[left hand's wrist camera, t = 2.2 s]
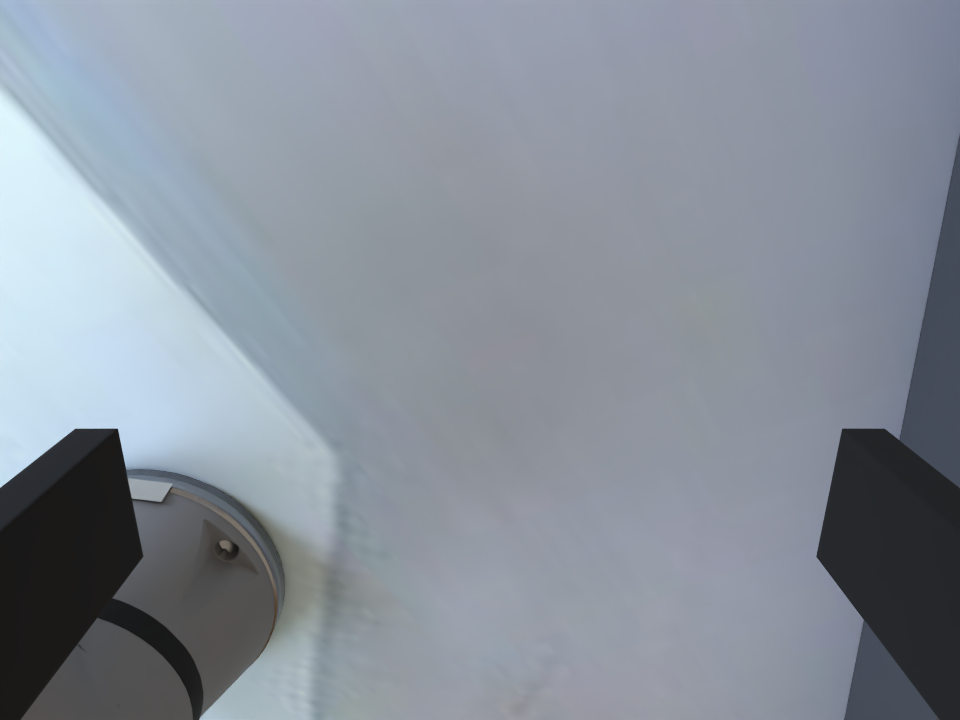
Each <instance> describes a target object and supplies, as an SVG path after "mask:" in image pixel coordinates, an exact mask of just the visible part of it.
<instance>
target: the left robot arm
mask: <svg viewBox="0 0 960 720" xmlns="http://www.w3.org/2000/svg"><path fill="white" fill-rule="evenodd" d="M816 557H817V558H818V559H819V561H820V562H821V563H822V565H823V566H824V567H825V569H826V570H827V571H828V573H829V574H830V575H831V577H832V578H833V579H834V581H835V582H836V583H837V585H838V586H839V587H840V589H841V590H842V591H843V593H844V594H845V595H846V597H847V598H848V599H849V600H850V602H851V603H852V604H853V606H854V607H855V608H856V610H857V611H858V612H859V614H860V615H861V616H862V618H863V619H864V620H865V622H866V623H867V624H868V626H869V627H870V628H871V630H872V631H873V632H874V634H875V635H876V636H877V638H878V639H879V640H880V642H881V643H882V644H883V646H884V647H885V648H886V650H887V651H888V652H889V654H890V655H891V656H892V658H893V659H894V660H895V662H896V663H897V664H898V666H899V667H900V668H901V670H902V671H903V672H904V673H905V675H906V676H907V677H908V679H909V680H910V681H911V683H912V684H913V685H914V687H915V688H916V689H917V691H918V692H919V693H920V695H921V696H922V697H923V699H924V700H925V701H926V703H927V704H928V705H929V707H930V708H931V709H932V711H933V712H934V713H935V715H936V716H937V717H938V719H939V720H960V488H959V487H958V486H956V485H955V484H954V483H953V482H951V481H950V480H949V479H948V478H946V477H945V476H944V475H943V474H941V473H940V472H939V471H937V470H936V469H935V468H934V467H932V466H931V465H930V464H929V463H927V462H926V461H925V460H923V459H922V458H921V457H920V456H918V455H917V454H916V453H915V452H913V451H912V450H911V449H910V448H908V447H907V446H906V445H904V444H903V443H902V442H901V441H899V440H898V439H897V438H896V437H894V436H893V435H892V434H891V433H889V432H888V431H887V430H885V429H842V433H841V438H840V443H839V447H838V452H837V457H836V462H835V467H834V472H833V477H832V482H831V487H830V492H829V497H828V502H827V507H826V512H825V517H824V522H823V527H822V532H821V537H820V542H819V546H818V551H817V556H816ZM284 586H285V585H284V574H283V570H282V565H281V562H280V559H279V556H278V553H277V551H276V549H275V547H274V545H273V543H272V541H271V539H270V538H269V536H268V534H267V533H266V532H265V530H264V529H263V527H262V526H261V525H260V524H259V523H258V521H257V520H256V519H255V518H254V517H253V516H252V515H251V514H250V513H249V512H248V511H247V510H246V509H245V508H244V507H242V506H241V505H240V504H239V503H237V502H236V501H235V500H233V499H232V498H231V497H229V496H228V495H226V494H225V493H223V492H221V491H219V490H218V489H216V488H214V487H212V486H210V485H208V484H206V483H203V482H201V481H198V480H196V479H193V478H190V477H187V476H184V475H180V474H176V473H171V472H166V471H159V470H146V469H135V470H126V467H125V462H124V457H123V452H122V447H121V443H120V438H119V433H118V429H75V430H73V431H72V432H71V433H70V434H68V435H67V436H66V437H64V438H63V439H62V440H61V441H59V442H58V443H57V444H56V445H54V446H53V447H52V448H50V449H49V450H48V451H47V452H45V453H44V454H43V455H42V456H40V457H39V458H38V459H37V460H35V461H34V462H33V463H31V464H30V465H29V466H28V467H26V468H25V469H24V470H23V471H21V472H20V473H19V474H17V475H16V476H15V477H14V478H12V479H11V480H10V481H9V482H7V483H6V484H5V485H4V486H2V487H1V488H0V720H199V719H200V717H201V716H202V715H203V714H204V713H205V712H206V711H207V710H208V709H209V707H210V706H211V705H212V704H213V703H214V702H215V701H216V700H217V699H218V698H219V697H220V696H221V695H222V694H223V693H224V692H225V691H226V690H227V689H228V688H229V687H230V686H231V685H232V684H233V683H234V682H235V681H236V680H237V679H238V678H239V677H240V676H241V674H242V673H243V672H244V671H245V670H246V669H247V668H248V667H249V666H250V665H251V664H252V663H253V662H254V661H255V660H256V659H257V658H258V657H259V656H260V654H261V653H262V652H263V650H264V649H265V647H266V645H267V643H268V642H269V639H270V637H271V635H272V632H273V630H274V627H275V625H276V622H277V620H278V617H279V615H280V612H281V609H282V605H283V599H284Z"/></svg>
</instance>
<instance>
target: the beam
mask: <svg viewBox="0 0 960 720" xmlns="http://www.w3.org/2000/svg"><path fill="white" fill-rule="evenodd" d="M900 441H901V442H902V443H903V444H904V445H906V446H907V447H908V448H910V449H911V450H912V451H913V452H915V453H916V454H917V455H918V456H920V457H921V458H922V459H923V460H925V461H926V462H927V463H929V464H930V465H931V466H932V467H934V468H935V469H936V470H937V471H939V472H940V473H941V474H943V475H944V476H945V477H946V478H948V479H949V480H950V481H951V482H953V483H954V484H955V485H956V486H958V487H959V488H960V137H959V142H958V147H957V152H956V157H955V162H954V167H953V173H952V178H951V183H950V188H949V193H948V198H947V203H946V208H945V213H944V218H943V223H942V228H941V233H940V238H939V244H938V249H937V254H936V259H935V264H934V269H933V274H932V279H931V284H930V289H929V294H928V299H927V304H926V309H925V314H924V320H923V325H922V330H921V335H920V340H919V345H918V350H917V355H916V360H915V365H914V370H913V375H912V380H911V385H910V390H909V396H908V401H907V406H906V411H905V416H904V421H903V426H902V431H901V436H900ZM845 720H939V719H938V717H937V716H936V715H935V713H934V712H933V711H932V709H931V708H930V707H929V705H928V704H927V703H926V701H925V700H924V699H923V697H922V696H921V695H920V693H919V692H918V691H917V689H916V688H915V687H914V685H913V684H912V683H911V681H910V680H909V679H908V677H907V676H906V675H905V673H904V672H903V671H902V670H901V668H900V667H899V666H898V664H897V663H896V662H895V660H894V659H893V658H892V656H891V655H890V654H889V652H888V651H887V650H886V648H885V647H884V646H883V644H882V643H881V642H880V640H879V639H878V638H877V636H876V635H875V634H874V632H873V631H872V630H871V628H870V627H869V626H868V624H867V623H866V622H865V620H864V624H863V629H862V634H861V639H860V644H859V649H858V654H857V659H856V664H855V669H854V674H853V679H852V684H851V690H850V695H849V700H848V705H847V710H846V715H845Z"/></svg>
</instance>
